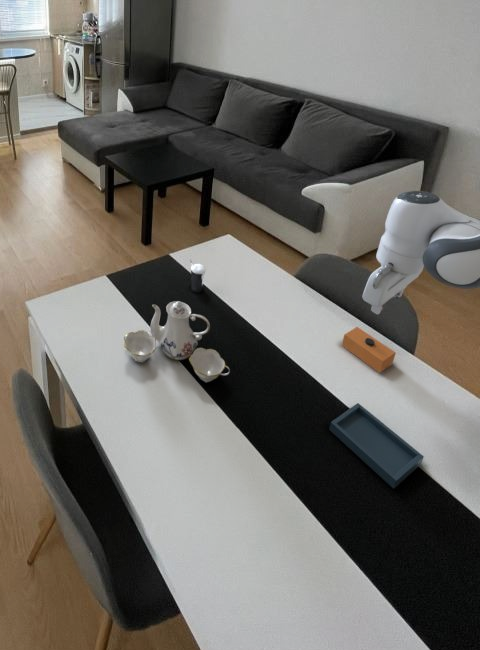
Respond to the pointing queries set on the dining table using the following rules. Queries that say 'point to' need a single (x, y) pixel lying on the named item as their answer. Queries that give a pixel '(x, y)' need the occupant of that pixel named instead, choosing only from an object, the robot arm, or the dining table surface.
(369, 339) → the orange rectangular block
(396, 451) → the dark blue rectangular tray
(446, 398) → the dining table surface
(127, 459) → the dining table surface
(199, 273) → the milkshake
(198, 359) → the chinaware
